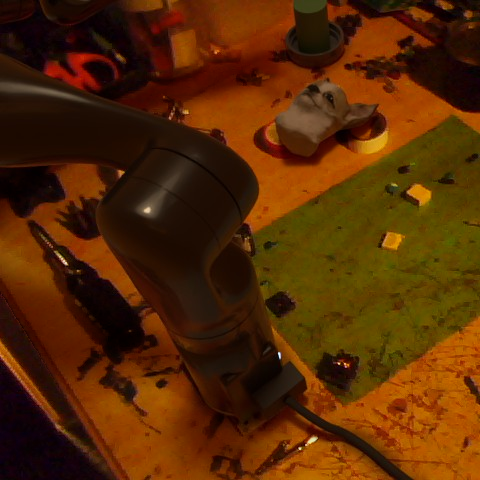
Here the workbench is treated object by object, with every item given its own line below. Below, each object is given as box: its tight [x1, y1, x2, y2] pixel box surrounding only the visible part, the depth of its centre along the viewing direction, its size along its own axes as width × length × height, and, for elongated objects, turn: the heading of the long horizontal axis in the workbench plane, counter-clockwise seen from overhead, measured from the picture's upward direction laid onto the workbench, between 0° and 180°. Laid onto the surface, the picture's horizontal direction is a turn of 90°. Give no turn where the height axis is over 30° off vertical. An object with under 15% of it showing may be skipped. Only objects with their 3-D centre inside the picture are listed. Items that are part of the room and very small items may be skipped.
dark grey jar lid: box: [284, 19, 346, 69], centre depth 104 cm, size 9×9×2 cm
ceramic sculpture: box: [273, 77, 380, 158], centre depth 91 cm, size 11×9×15 cm
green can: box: [292, 0, 330, 54], centre depth 101 cm, size 5×5×8 cm
